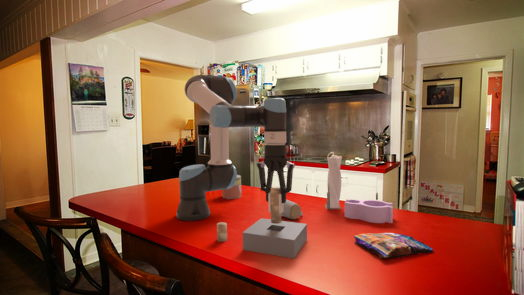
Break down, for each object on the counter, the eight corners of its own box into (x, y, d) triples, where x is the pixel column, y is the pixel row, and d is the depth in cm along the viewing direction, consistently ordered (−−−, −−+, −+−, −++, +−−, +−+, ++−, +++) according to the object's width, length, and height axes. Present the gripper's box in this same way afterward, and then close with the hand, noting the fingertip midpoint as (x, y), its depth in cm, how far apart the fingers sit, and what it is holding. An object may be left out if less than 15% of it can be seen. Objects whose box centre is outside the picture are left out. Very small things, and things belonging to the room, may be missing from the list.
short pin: (215, 240, 108) (214, 224, 107) (220, 237, 111) (220, 221, 110) (223, 242, 106) (223, 226, 106) (228, 238, 110) (228, 223, 109)
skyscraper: (323, 205, 154) (324, 151, 152) (339, 205, 154) (340, 151, 152) (326, 209, 146) (327, 153, 144) (343, 209, 146) (344, 153, 143)
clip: (343, 219, 131) (343, 204, 130) (347, 211, 142) (347, 197, 141) (392, 225, 123) (392, 209, 122) (392, 216, 134) (392, 201, 133)
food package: (345, 241, 108) (345, 230, 107) (401, 234, 115) (401, 223, 115) (387, 269, 87) (387, 255, 86) (452, 258, 94) (453, 244, 94)
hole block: (242, 249, 100) (242, 232, 99) (261, 233, 114) (261, 218, 114) (294, 258, 93) (294, 240, 92) (306, 240, 108) (306, 223, 107)
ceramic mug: (290, 221, 128) (290, 204, 127) (277, 217, 134) (277, 200, 134) (307, 217, 135) (307, 200, 134) (294, 213, 141) (294, 197, 140)
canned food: (240, 198, 168) (240, 178, 167) (220, 199, 168) (220, 178, 167) (242, 194, 179) (241, 174, 178) (223, 194, 179) (223, 174, 178)
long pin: (269, 222, 102) (269, 188, 101) (273, 219, 105) (272, 186, 104) (279, 224, 100) (279, 189, 100) (282, 220, 104) (282, 187, 103)
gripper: (249, 144, 100) (250, 212, 102) (295, 145, 94) (295, 217, 96) (258, 143, 107) (258, 206, 109) (301, 143, 101) (301, 210, 103)
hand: (276, 211), depth 103 cm, fingers closed on long pin, 3 cm apart
